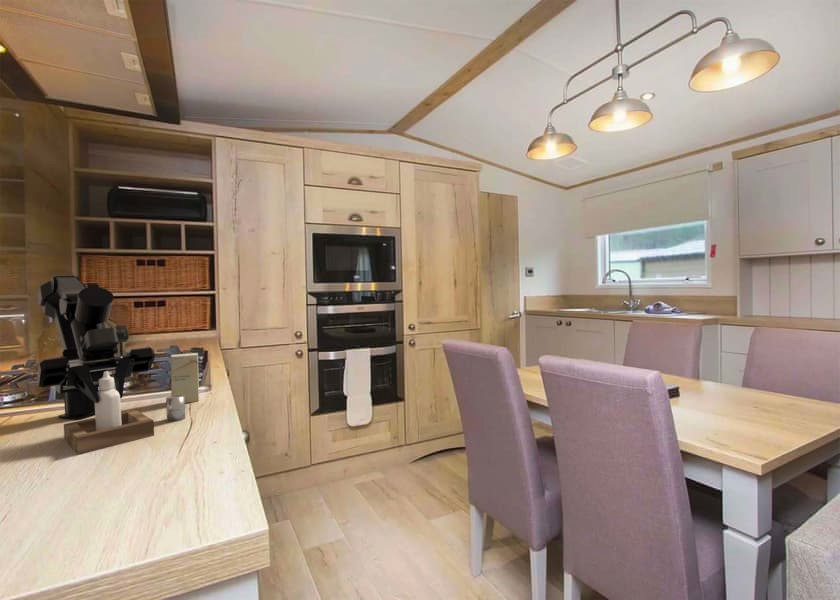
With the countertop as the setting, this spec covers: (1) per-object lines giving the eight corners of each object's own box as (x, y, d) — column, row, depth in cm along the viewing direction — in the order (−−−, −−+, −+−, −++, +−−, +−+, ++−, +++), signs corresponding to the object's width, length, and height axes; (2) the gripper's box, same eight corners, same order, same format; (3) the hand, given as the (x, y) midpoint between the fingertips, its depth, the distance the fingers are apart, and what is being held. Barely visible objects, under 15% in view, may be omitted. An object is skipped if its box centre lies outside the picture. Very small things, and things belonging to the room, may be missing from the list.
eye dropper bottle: (123, 425, 87) (120, 367, 86) (121, 433, 82) (118, 372, 81) (96, 429, 84) (93, 370, 84) (93, 438, 80) (90, 375, 79)
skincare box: (171, 405, 105) (169, 357, 104) (172, 400, 109) (170, 354, 108) (199, 401, 108) (197, 354, 107) (199, 397, 112) (198, 352, 111)
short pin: (162, 421, 92) (161, 399, 92) (175, 416, 96) (174, 394, 96) (176, 422, 91) (175, 399, 91) (189, 417, 95) (188, 395, 95)
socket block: (64, 439, 82) (63, 424, 82) (135, 422, 92) (134, 409, 91) (78, 454, 75) (77, 438, 75) (154, 435, 84) (153, 420, 84)
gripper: (36, 316, 77) (50, 385, 71) (150, 310, 92) (171, 366, 85) (31, 354, 83) (44, 420, 76) (140, 342, 97) (159, 397, 91)
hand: (109, 399), depth 82 cm, fingers closed on eye dropper bottle, 3 cm apart
